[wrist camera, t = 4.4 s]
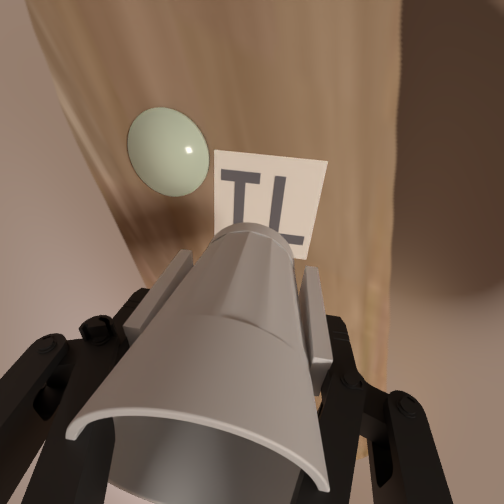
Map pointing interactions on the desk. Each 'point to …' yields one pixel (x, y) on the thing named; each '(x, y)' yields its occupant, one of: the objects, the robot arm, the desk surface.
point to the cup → (217, 384)
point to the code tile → (268, 194)
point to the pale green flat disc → (168, 151)
